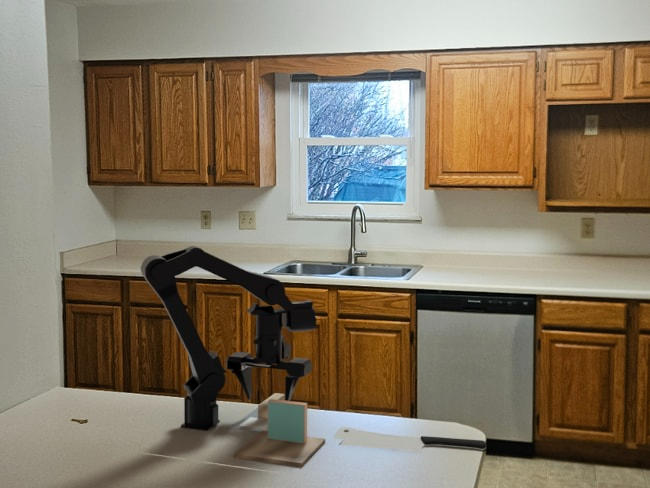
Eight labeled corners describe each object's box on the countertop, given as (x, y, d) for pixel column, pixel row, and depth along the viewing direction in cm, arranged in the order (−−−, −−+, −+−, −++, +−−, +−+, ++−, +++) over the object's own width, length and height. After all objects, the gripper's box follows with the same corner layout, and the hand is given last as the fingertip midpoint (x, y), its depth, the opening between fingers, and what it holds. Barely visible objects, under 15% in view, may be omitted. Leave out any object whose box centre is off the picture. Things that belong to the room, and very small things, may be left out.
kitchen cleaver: (328, 444, 159) (338, 423, 168) (328, 452, 159) (338, 430, 168) (485, 458, 152) (486, 436, 162) (485, 467, 152) (486, 443, 162)
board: (233, 458, 152) (233, 453, 151) (262, 435, 165) (262, 430, 165) (301, 468, 147) (301, 463, 147) (325, 443, 160) (325, 438, 160)
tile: (267, 439, 160) (267, 401, 159) (270, 436, 161) (270, 398, 160) (304, 444, 157) (304, 405, 156) (306, 441, 159) (307, 403, 158)
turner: (239, 428, 168) (239, 412, 168) (267, 406, 183) (267, 392, 183) (265, 431, 166) (265, 415, 166) (291, 409, 181) (291, 394, 181)
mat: (229, 429, 168) (229, 427, 168) (260, 406, 184) (260, 405, 184) (272, 434, 165) (272, 433, 165) (300, 411, 181) (300, 409, 181)
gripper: (320, 329, 179) (319, 396, 180) (245, 323, 185) (245, 387, 186) (303, 339, 168) (302, 410, 170) (224, 332, 174) (224, 400, 176)
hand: (268, 401), depth 176 cm, fingers open, 9 cm apart
